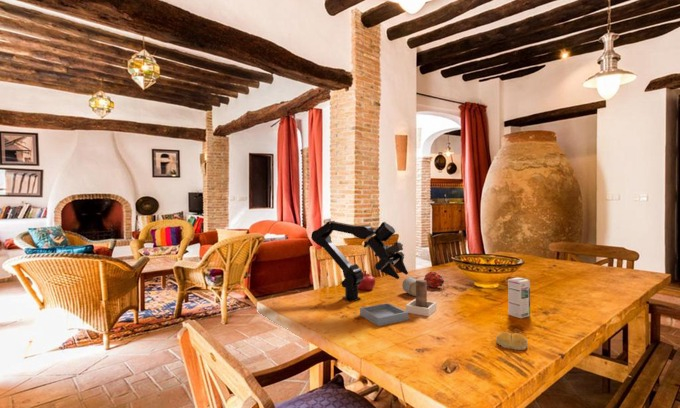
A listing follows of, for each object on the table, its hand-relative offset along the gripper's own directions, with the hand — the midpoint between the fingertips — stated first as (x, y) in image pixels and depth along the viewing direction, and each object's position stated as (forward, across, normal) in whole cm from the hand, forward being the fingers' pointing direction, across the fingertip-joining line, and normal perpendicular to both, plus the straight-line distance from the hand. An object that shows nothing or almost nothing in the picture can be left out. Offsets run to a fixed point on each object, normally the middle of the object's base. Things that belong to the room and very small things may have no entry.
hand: (403, 276), depth 156 cm
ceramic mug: (+8, +22, +12) cm, 26 cm away
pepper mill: (+15, 0, +4) cm, 16 cm away
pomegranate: (-10, +19, +30) cm, 37 cm away
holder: (+15, 0, +4) cm, 16 cm away
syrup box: (+40, +14, -21) cm, 47 cm away
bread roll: (+42, -17, -22) cm, 50 cm away
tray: (+8, -15, +11) cm, 20 cm away
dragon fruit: (+10, +39, +9) cm, 41 cm away
